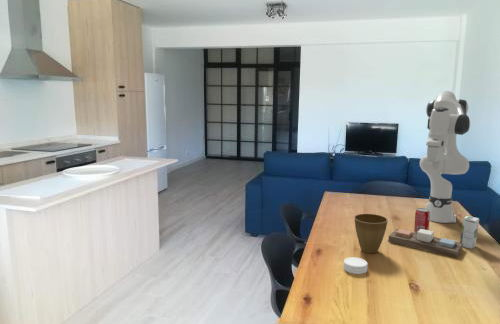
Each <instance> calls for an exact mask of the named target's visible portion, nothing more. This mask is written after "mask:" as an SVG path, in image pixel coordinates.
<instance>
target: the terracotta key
mask: <svg viewBox="0 0 500 324" xmlns="http://www.w3.org/2000/svg"><path fill="white" fill-rule="evenodd" d="M412 232H413V231H412V230H406V229H401V228H399V230H398V231H397V232H396V236H401V237H405V238H410V237H411V236H412Z"/></svg>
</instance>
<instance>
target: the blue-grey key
mask: <svg viewBox="0 0 500 324" xmlns="http://www.w3.org/2000/svg"><path fill="white" fill-rule="evenodd" d="M456 242H457V240H453V239H449V238H444V237H441V240H440V241H439V245H440V246H445V247H449V248H455V244H456Z"/></svg>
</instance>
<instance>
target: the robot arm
mask: <svg viewBox="0 0 500 324" xmlns="http://www.w3.org/2000/svg"><path fill="white" fill-rule="evenodd" d="M468 112H469V105H468V102H467V101H466V99H461V98H460V99H457V97H456V95H455V93H453V92H452V91H449V90H444V91H442V92H439V94H437V96H436V97H435V99H433V100H431V101H429V102H428V103H427V105H426V107H425V113H426V115H427V117H428V118H427V126H426V129H428V130H429V132H428V134H427V135H428V136H427V141H426V146H427V147H426V154H424V155H422V156H421V158H420V160H419V168H420V169H421V170H422V172H424V173H425V174H426V175H427V177H428V178H429V181H430V195H429V197H428V199H429V200H428V202H427V203H426V204H425V209H428V210H429V212H430V220H429V221H431V222H436V223H439V224H440V223H441V224H442V223H444V224H447V223H450V224H451V223H457V215H456V214H455V212H454V207H453V205H452V204H453V203H452V202H453V197H452V195H453V193H452V192H453V184H452V183H451V181H449V180H447V179H446V178H444V177H443V176H442V175H443V174H444V175H454V176H455V175H465V174H466V173H467V172H468V171H469V169H470V161H469V160H468V158H467V157H465V156H464V155H462V153H461V152H460V151H459V148H458V147H457V146H458V145H457V135H460V136H463V135H465V134H466V133H468V132H469V131H470V128H471V119H470V117H469V116H468V115H467V114H468Z"/></svg>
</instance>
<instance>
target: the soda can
mask: <svg viewBox="0 0 500 324" xmlns="http://www.w3.org/2000/svg"><path fill="white" fill-rule="evenodd" d="M430 221H431V220H430V212H429V210H428V209H426V207H425V208H424V207H418V208H416V210H415V213H414V226H413V227H414V228H413V232H414V233H417V232H418V231H419V230H420V229H424V230H429V231H430Z"/></svg>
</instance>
